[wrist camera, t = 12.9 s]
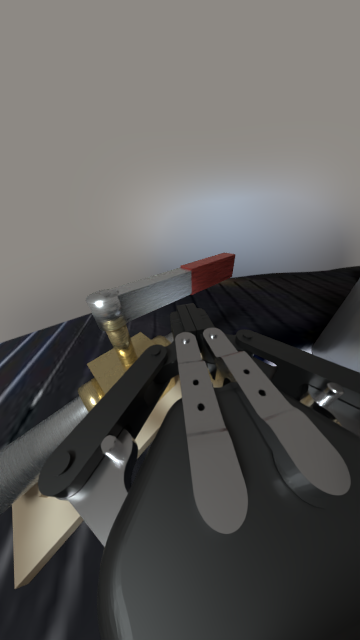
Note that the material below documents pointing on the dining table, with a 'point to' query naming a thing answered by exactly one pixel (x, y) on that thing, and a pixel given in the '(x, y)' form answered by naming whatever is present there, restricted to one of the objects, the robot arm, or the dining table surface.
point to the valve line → (69, 415)
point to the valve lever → (157, 291)
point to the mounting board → (63, 508)
